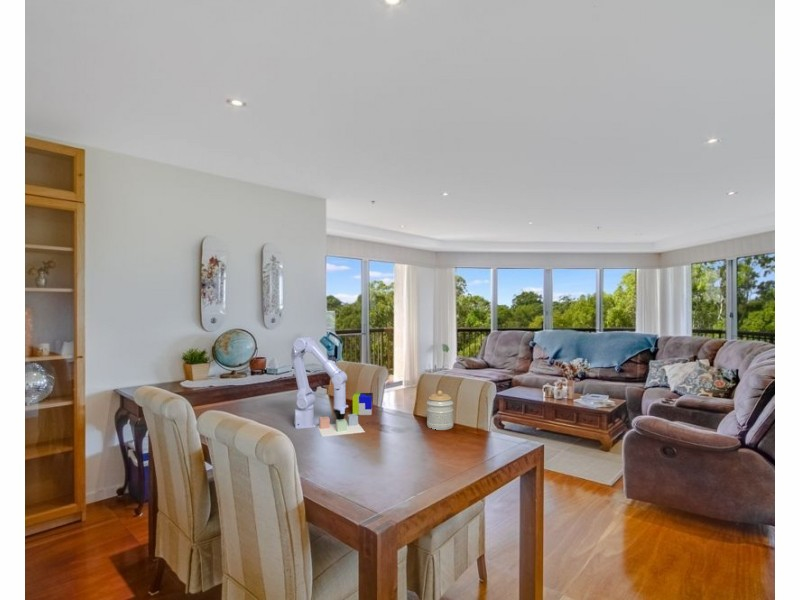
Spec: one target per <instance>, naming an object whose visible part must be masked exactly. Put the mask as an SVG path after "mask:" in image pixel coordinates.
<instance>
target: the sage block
mask: <svg viewBox="0 0 800 600" xmlns="http://www.w3.org/2000/svg"><path fill="white" fill-rule="evenodd" d="M335 424H336V430H337V432H342V431H347V418H344V419H339V420H337V419H335Z"/></svg>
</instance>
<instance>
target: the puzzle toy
mask: <svg viewBox="0 0 800 600" xmlns="http://www.w3.org/2000/svg"><path fill="white" fill-rule="evenodd" d="M373 394H374V393H373V392H354V394H353V395H352V414H357V415H358V416H371V415H373V412H374V403H373V402H374V401H373V400H374V398H373V397H374V395H373Z"/></svg>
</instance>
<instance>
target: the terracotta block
mask: <svg viewBox="0 0 800 600" xmlns="http://www.w3.org/2000/svg"><path fill="white" fill-rule="evenodd" d="M330 420H331V419H330V417H329V416H328V415H327V416H319V417H318V425H319V427H320V429H326V428H330V424H331V423H330V422H331V421H330Z"/></svg>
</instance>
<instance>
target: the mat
mask: <svg viewBox="0 0 800 600" xmlns="http://www.w3.org/2000/svg"><path fill="white" fill-rule="evenodd" d="M317 428H318V431H319V433H320V434H321V437H323V438H324V437H332V436H340V435H350V434H351V435H353V434H361V433H366V431H365V430H364V429H363V427H362V426H361V424H359V423H358V425H355V426H349V425H348V424H347V431H342V432H337V430H336V423H330V428H326V429H320V427H319V424H318V425H317Z"/></svg>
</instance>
